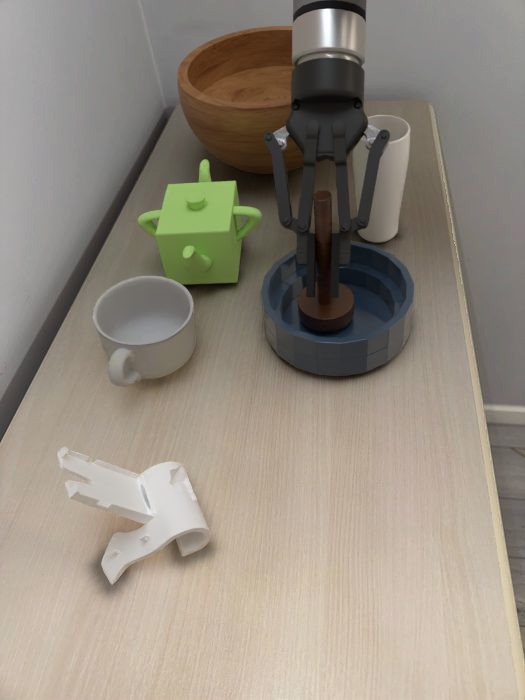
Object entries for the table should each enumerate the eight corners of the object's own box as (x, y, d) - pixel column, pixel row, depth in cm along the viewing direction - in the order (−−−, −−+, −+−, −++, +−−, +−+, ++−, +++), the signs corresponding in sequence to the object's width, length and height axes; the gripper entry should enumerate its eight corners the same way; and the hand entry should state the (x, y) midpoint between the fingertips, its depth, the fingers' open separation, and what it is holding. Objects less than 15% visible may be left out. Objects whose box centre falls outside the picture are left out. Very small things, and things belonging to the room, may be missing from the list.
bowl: (222, 114, 115) (209, 23, 103) (369, 122, 108) (371, 26, 97) (170, 201, 99) (147, 104, 88) (338, 216, 93) (337, 114, 81)
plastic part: (214, 544, 61) (194, 476, 53) (108, 588, 59) (69, 525, 51) (188, 479, 66) (166, 407, 58) (89, 518, 64) (51, 449, 56)
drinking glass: (351, 216, 92) (352, 114, 81) (402, 216, 91) (409, 112, 80) (351, 248, 88) (351, 145, 77) (404, 248, 87) (412, 143, 76)
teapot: (214, 217, 95) (203, 149, 87) (285, 254, 88) (279, 184, 80) (131, 273, 88) (110, 205, 80) (199, 318, 81) (184, 249, 74)
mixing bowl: (429, 298, 80) (434, 259, 76) (378, 399, 71) (380, 362, 66) (303, 265, 86) (300, 227, 82) (240, 354, 77) (234, 316, 72)
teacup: (143, 314, 83) (127, 264, 77) (220, 336, 79) (210, 286, 73) (76, 396, 75) (53, 348, 69) (158, 426, 71) (141, 377, 65)
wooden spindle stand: (362, 301, 78) (365, 183, 67) (340, 338, 75) (339, 220, 63) (312, 287, 81) (306, 171, 69) (288, 322, 77) (278, 206, 65)
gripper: (399, 78, 72) (393, 299, 73) (262, 82, 74) (258, 297, 76) (403, 50, 65) (396, 296, 66) (251, 56, 67) (246, 294, 68)
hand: (322, 296), depth 71 cm, fingers closed on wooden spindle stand, 2 cm apart
